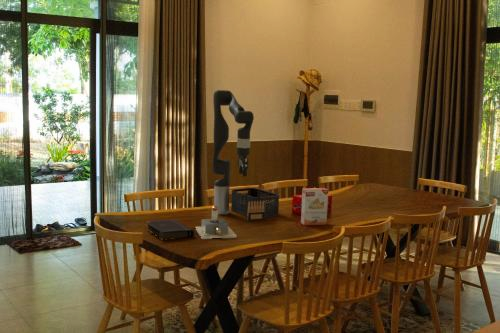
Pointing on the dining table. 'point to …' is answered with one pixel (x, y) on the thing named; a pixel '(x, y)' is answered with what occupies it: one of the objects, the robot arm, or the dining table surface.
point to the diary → (169, 229)
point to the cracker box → (314, 206)
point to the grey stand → (215, 229)
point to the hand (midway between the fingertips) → (242, 175)
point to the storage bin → (242, 200)
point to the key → (214, 213)
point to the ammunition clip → (256, 211)
